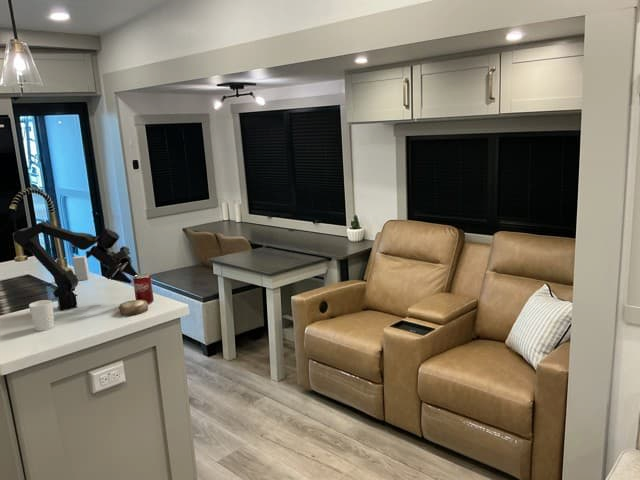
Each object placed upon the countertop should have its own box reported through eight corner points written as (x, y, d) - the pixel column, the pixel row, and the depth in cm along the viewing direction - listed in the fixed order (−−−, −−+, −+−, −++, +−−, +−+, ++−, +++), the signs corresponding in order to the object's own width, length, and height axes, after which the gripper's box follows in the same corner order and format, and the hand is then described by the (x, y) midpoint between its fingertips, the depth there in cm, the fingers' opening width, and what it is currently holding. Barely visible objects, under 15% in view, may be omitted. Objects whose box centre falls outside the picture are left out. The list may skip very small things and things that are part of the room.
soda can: (148, 305, 223) (145, 278, 221) (132, 305, 225) (129, 278, 222) (157, 300, 230) (153, 273, 228) (141, 300, 232) (138, 273, 229)
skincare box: (90, 277, 274) (86, 255, 272) (88, 280, 270) (84, 257, 267) (77, 278, 273) (74, 256, 271) (75, 281, 269) (71, 258, 266)
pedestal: (125, 317, 209) (124, 310, 209) (116, 311, 218) (115, 304, 217) (152, 310, 216) (151, 303, 215) (142, 304, 225) (141, 297, 224)
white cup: (38, 325, 207) (34, 300, 205) (59, 323, 208) (55, 299, 206) (29, 332, 199) (25, 307, 197) (51, 330, 200) (46, 305, 198)
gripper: (108, 247, 212) (139, 271, 215) (123, 237, 231) (152, 260, 233) (91, 267, 214) (122, 291, 216) (108, 256, 232) (136, 278, 235)
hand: (134, 279), depth 225 cm, fingers open, 9 cm apart
